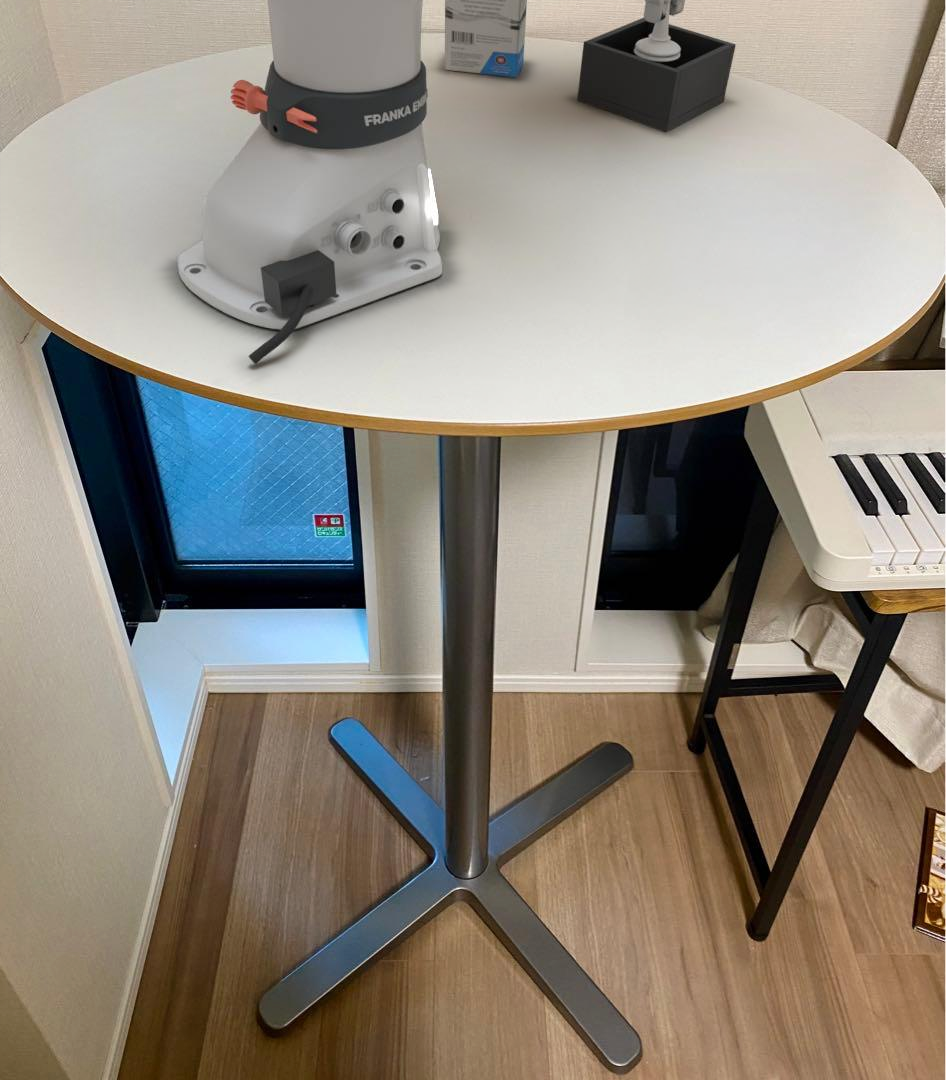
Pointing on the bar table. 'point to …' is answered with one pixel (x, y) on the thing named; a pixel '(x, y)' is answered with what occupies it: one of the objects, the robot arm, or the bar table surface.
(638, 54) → the chess piece
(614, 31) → the bin
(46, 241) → the bar table surface
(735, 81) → the bar table surface
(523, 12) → the ink box
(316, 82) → the robot arm
